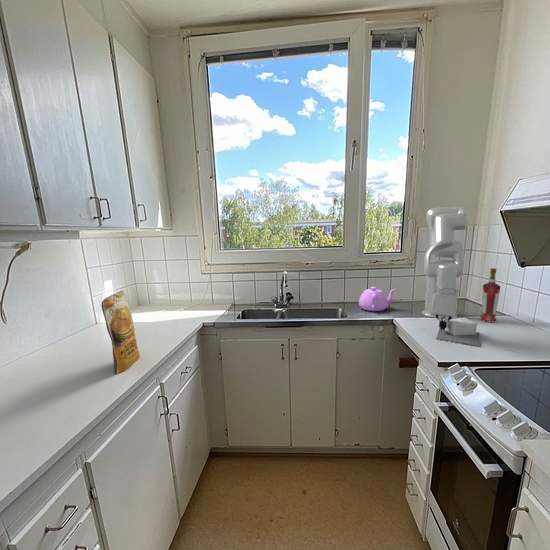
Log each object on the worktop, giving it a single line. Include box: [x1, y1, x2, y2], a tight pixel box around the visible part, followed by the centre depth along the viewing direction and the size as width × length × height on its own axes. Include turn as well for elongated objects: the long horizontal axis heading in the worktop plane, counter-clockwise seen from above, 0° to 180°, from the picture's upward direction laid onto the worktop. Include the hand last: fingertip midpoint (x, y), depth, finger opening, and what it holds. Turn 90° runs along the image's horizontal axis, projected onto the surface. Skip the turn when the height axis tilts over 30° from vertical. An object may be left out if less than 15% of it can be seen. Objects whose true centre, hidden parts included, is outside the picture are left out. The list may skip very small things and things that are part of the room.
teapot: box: [358, 286, 397, 312], centre depth 177 cm, size 22×22×14 cm
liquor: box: [480, 267, 501, 323], centre depth 150 cm, size 7×7×28 cm
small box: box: [445, 317, 478, 336], centre depth 134 cm, size 8×6×10 cm
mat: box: [435, 327, 481, 348], centre depth 131 cm, size 18×16×1 cm
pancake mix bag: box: [101, 290, 141, 374], centre depth 109 cm, size 7×19×28 cm, turn 0°
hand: (442, 329), depth 135 cm, fingers closed
